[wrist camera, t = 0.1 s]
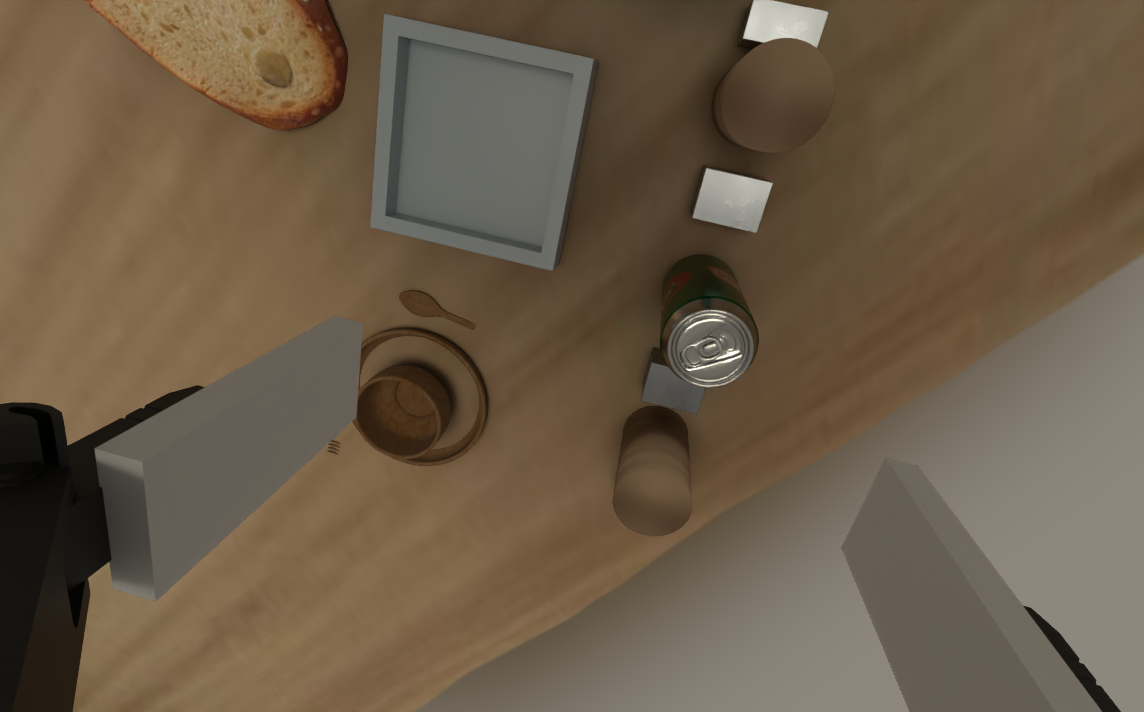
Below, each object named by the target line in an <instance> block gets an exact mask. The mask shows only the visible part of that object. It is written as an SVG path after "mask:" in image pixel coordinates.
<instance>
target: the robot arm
mask: <svg viewBox="0 0 1144 712" xmlns="http://www.w3.org/2000/svg"><path fill="white" fill-rule="evenodd" d="M362 329H363V323H360V322H356V321H352V320H348V319H344V318H340V317H336V316H333V317H332V318H330V319H328V320H326V321H324V322H323V323H321V324H319V325H317V326H315V327H313V328H312V329H310V330H308V331H306V332H304V333H303V334H301V335H299V336H297V337H295V338H294V339H292V340H290V341H288V342H286V343H285V344H283V345H281V346H279V347H277V348H275V349H274V350H272V351H270V352H268V353H266V354H265V355H263V356H261V357H259V358H257V359H256V360H254V361H252V362H250V363H248V364H247V365H245V366H243V367H241V368H239V369H237V370H236V371H234V372H232V373H230V374H228V375H227V376H225V377H223V378H221V379H219V380H218V381H216V382H214V383H212V384H210V385H209V386H207V387H202V386H198V385H197V386H193V387H190V388H186V389H182V390H179V391H175V392H171V393H168V394H166V395H164V396H162V397H160V398H158V399H156V400H155V401H153V402H151V403H149V404H147V405H145V408H144V409H143V408H139V409H137V410H135V411H134V412H132V413H130V414H128V415H126V417H125V419H123V418H120V419H118V420H116V421H114V422H113V423H111V424H109V425H107V426H105V427H103V428H101V429H99V430H97V431H95V432H93V433H92V434H90V435H88V436H86V437H84V438H82V439H80V440H78V441H76V442H74V443H72V444H71V445H69V446H67V440H66V433H65V427H64V420H63V416H62V412H60V411H59V410H57V409H55V408H54V407H52V406H48V405H43V404H38V403H5V404H0V712H72V711H73V705H74V698H75V691H76V685H77V678H78V671H79V665H80V658H81V652H82V645H83V638H84V632H85V625H86V619H87V612H88V605H89V599H90V588H89V582H88V577H90V576H91V575H92V574H94V573H95V572H96V571H98V570H99V569H100V568H101V567H103V566H104V565H105V564H107V563H108V562H109V561H110V569H111V576H112V583H113V589H116V590H119V591H123V592H126V593H129V594H133V595H136V596H139V597H143V598H146V599H149V600H153V601H157V600H158V599H159V598H160V597H161V596H162V595H163V594H164V593H166V592H167V591H168V590H169V589H170V588H171V587H172V586H173V585H174V584H175V583H176V582H178V581H179V580H180V579H181V578H182V577H183V576H184V575H185V574H186V573H187V572H188V571H190V570H191V569H192V568H193V567H194V566H195V565H196V564H197V563H198V562H199V561H200V560H202V559H203V558H204V557H205V556H206V555H207V554H208V553H209V552H210V551H211V550H212V549H214V548H215V547H216V546H217V545H218V544H219V543H220V542H221V541H222V540H223V539H224V538H226V537H227V536H228V535H229V534H230V533H231V532H232V531H233V530H234V529H235V528H236V527H238V526H239V525H240V524H241V523H242V522H243V521H244V520H245V519H246V518H247V517H248V516H250V515H251V514H252V513H253V512H254V511H255V510H256V509H257V508H258V507H259V506H260V505H262V504H263V503H264V502H265V501H266V500H267V499H268V498H269V497H270V496H271V495H272V494H274V493H275V492H276V491H277V490H278V489H279V488H280V487H281V486H282V485H283V484H284V483H285V482H287V481H288V480H289V479H290V478H291V477H292V476H293V475H294V474H295V473H296V472H297V471H299V470H300V469H301V468H302V467H303V466H304V465H305V464H306V463H307V462H308V461H309V460H311V459H312V458H313V457H314V456H315V455H316V454H317V453H318V452H319V451H320V450H321V449H323V448H324V447H325V446H326V445H327V444H328V443H329V442H330V441H331V440H332V439H333V438H335V437H336V436H337V435H338V434H339V433H340V432H341V431H342V430H343V429H344V428H345V427H347V426H348V425H349V424H350V423H351V422H352V421H353V420H354V419H355V418H356V414H357V400H358V386H359V372H360V357H361V343H362ZM841 548H842V550H843V553H844V555H845V558H846V560H847V562H848V565H849V567H850V570H851V572H852V574H853V577H854V579H855V582H856V584H857V586H858V589H859V591H860V594H861V596H862V598H863V601H864V603H865V606H866V608H867V610H868V613H869V615H870V618H871V620H872V622H873V625H874V627H875V630H876V632H877V634H878V637H879V639H880V642H881V644H882V646H883V649H884V651H885V653H886V656H887V658H888V661H889V663H890V666H891V668H892V671H893V673H894V675H895V678H896V680H897V683H898V685H899V687H900V690H901V692H902V695H903V697H904V699H905V702H906V704H907V707H908V709H909V711H910V712H1121V711H1120V710H1119V709H1118V708H1117V706H1116V705H1115V704H1114V702H1113V701H1112V700H1111V699H1110V698H1109V696H1108V695H1107V693H1106V692H1105V691H1104V690H1103V688H1102V687H1101V686H1098V685H1096V679H1095V678H1094V677H1093V675H1092V674H1091V673H1090V672H1089V671H1088V669H1087V668H1086V667H1085V665H1084V664H1081V663H1079V658H1078V656H1077V655H1076V654H1075V652H1074V651H1073V650H1072V649H1071V647H1070V646H1069V645H1068V643H1067V642H1066V641H1065V640H1064V638H1063V637H1062V636H1061V634H1060V633H1059V632H1058V631H1057V630H1055V629H1054V628H1053V627H1052V626H1051V625H1050V624H1049V623H1047V622H1046V621H1045V620H1044V619H1043V618H1042V617H1041V616H1040V615H1038V614H1037V613H1036V612H1035V611H1034V610H1033V609H1032V608H1029V607H1026V606H1023V605H1022V604H1021V603H1020V601H1019V600H1018V599H1017V597H1016V596H1015V595H1014V593H1013V592H1012V591H1011V589H1010V588H1009V587H1008V585H1007V584H1006V583H1005V581H1004V580H1003V579H1002V577H1001V576H1000V575H999V573H998V572H997V571H996V569H995V568H994V567H993V565H992V564H991V563H990V562H989V560H988V559H987V557H986V556H985V555H984V553H983V552H982V550H981V549H980V548H979V546H978V545H977V544H976V542H975V541H974V540H973V538H972V537H971V536H970V534H969V533H968V532H967V530H966V529H965V528H964V526H963V525H962V524H961V522H960V521H959V520H958V518H957V517H956V516H955V514H954V513H953V512H952V510H951V509H950V508H949V506H948V505H947V504H946V502H945V501H944V500H943V498H942V497H941V496H940V494H939V493H938V492H937V490H936V489H935V488H934V486H933V485H932V484H931V482H930V481H929V480H928V478H927V477H926V476H925V474H924V473H923V472H922V470H921V469H920V468H919V466H917V465H913V464H909V463H905V462H901V461H897V460H894V459H890V458H885V460H884V462H883V464H882V466H881V468H880V470H879V472H878V474H877V476H876V478H875V480H874V482H873V485H872V487H871V489H870V490H869V493H868V495H867V497H866V499H865V501H864V503H863V505H862V507H861V509H860V511H859V513H858V515H857V517H856V519H855V521H854V523H853V525H852V527H851V529H850V531H849V533H848V535H847V537H846V539H845V541H844V543H843V545H842V547H841Z"/></svg>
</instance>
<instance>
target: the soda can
mask: <svg viewBox="0 0 1144 712" xmlns="http://www.w3.org/2000/svg"><path fill="white" fill-rule="evenodd" d="M758 344H759V335H758V330H757V327H756V324H755V321H754V319H753V317H752V314H751V312H750V310H749V308H748V305H747V303H746V301H745V299H744V296H743V294H742V292H741V289H740V287H739V285H738V283H737V280H736V278H735V276H734V274H733V272H732V270H731V269H730V268H729V267H728V266H727V265H726V264H725V263H724V262H722V261H721V260H719V259H717V258H714V257H711V256H707V255H696V256H691V257H688V258H685V259H683V260H681V261H680V262H678V263H677V264H676V265H674V266H673V267H672V269H671V270H670V271H669V272H668V274H667V275H666V278H665V280H664V283H663V289H662V309H661V332H660V348H661V352H662V356H663V358H664V361H665V363H666V364H667V366H668V367H669V369H670V370H671V371H672V372H673V373H674V374H675V375H677V376H678V377H679V378H681V379H682V380H684V381H686V382H688V383H690V384H692V385H695V386H698V387H703V388H716V387H721V386H724V385H727V384H729V383H731V382H733V381H735V380H736V379H738V378H739V377H740V376H741V375H742V374H743V373H744V372H745V371H746V370H747V369H748V368H749V366H750V365H751V364H752V362H753V360H754V358H755V356H756V353H757V350H758Z"/></svg>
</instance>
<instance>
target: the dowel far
mask: <svg viewBox="0 0 1144 712" xmlns="http://www.w3.org/2000/svg"><path fill="white" fill-rule="evenodd" d="M613 507H614V510H615V513H616V515H617V517H618V518H619V519H620V521H621V522H622V523H623V524H624V525H625V526H626V527H628V528H629V529H631V530H633V531H635V532H637V533H640V534H643V535H647V536H663V535H667V534H670V533H673V532H675V531H677V530H678V529H680V528H681V527H682V526H683V525H684V524H685V523H686V522H687V520H688V519H689V517H690V515H691V511H692V493H691V477H690V460H689V444H688V431H687V427H686V424H685V422H684V421H683V419H682V418H681V417H680V416H679V415H678V414H677V413H675V412H674V411H672V410H670V409H668V408H665V407H661V406H648V407H644V408H641V409H639V410H637V411H635V412H634V413H633V414H632V415H631V416H630V417H629V418H628V419H627V421H626V423H625V425H624V429H623V436H622V442H621V449H620V455H619V462H618V469H617V475H616V482H615V489H614V495H613Z"/></svg>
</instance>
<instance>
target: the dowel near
mask: <svg viewBox="0 0 1144 712" xmlns="http://www.w3.org/2000/svg"><path fill="white" fill-rule="evenodd" d="M834 94H835V83H834V76H833V72H832V69H831V67H830V64H829V62H828V61H827V59H826V57H825V56H824V55H823V54H822V52H820V51H819V50H818V49H817V48H816V47H815V46H813V45H812V44H810V43H808V42H806V41H803V40H800V39H795V38H779V39H774V40H770V41H767V42H765V43H763V44H760V45H759V46H757V47H755V48H754V49H752V50H751V51H750V52H749V53H747V54H746V55H745V56H744V57H743V58H742V59H741V60H740V61H739V62H738V63H737V64H736V65H734V66H733V67H732V68H731V69H730V70H729V71H728V72H727V73H726V74H725V75H724V76H723V78H722V79H721V80H720V82H719V83H718V85H717V87H716V89H715V92H714V95H713V100H712V116H713V120H714V123H715V126H716V128H717V129H718V131H719V133H720V134H721V135H722V136H723V137H724V138H725V139H726V140H728V141H729V142H731V143H733V144H735V145H738V146H742V147H745V148H749V149H753V150H756V151H760V152H765V153H780V152H785V151H789V150H792V149H794V148H796V147H798V146H800V145H802V144H804V143H805V142H807V141H808V140H809V139H810V138H812V137H813V136H814V135H815V134H816V133H817V132H818V130H819V129H820V128H821V127H822V125H823V124H824V122H825V121H826V119H827V117H828V115H829V113H830V110H831V108H832V104H833V100H834Z"/></svg>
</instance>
